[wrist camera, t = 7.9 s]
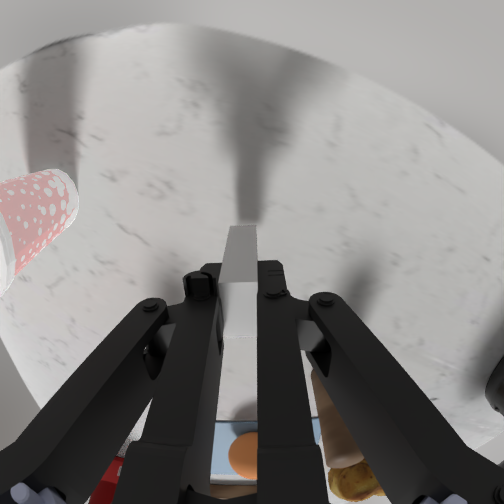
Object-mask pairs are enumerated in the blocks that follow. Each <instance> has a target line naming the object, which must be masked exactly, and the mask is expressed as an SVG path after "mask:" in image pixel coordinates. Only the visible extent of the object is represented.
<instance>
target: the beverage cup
mask: <svg viewBox="0 0 504 504" xmlns="http://www.w3.org/2000/svg"><path fill="white" fill-rule="evenodd" d="M78 209H79V197H78V192H77V189H76V187H75V184H74V182H73V181H72V180H71V178H70V177H69V176H68V175H67V174H66V173H64V172H62V171H60V170H59V169H47V170H43V171H39V172H35V173H31V174H27V175H23V176H20V177H16V178H12V179H9V180H5V181H2V182H0V297H1V296H2V295H3V294H4V292H5V291H6V290H8V288H9V286H10V285H11V283H12V281H13V279H14V276H15V275H16V274H17V273H18V272H19V271H20V270H21V269H22V268H23V267H25V266H26V265H27V264H28V263H29V262H30V261H31V260H32V259H33V258H34V257H35V256H36V255H37V254H38V253H39V252H40V251H41V250H42V249H44V248H45V247H46V246H47V245H48V244H49V243H50V242H51V241H52V240H54V239H55V238H56V237H57V236H58V235H59V234H60V233H62V232H63V231H64V230H65V229H66V228H67V227H69V226H70V225H71V223H72V222H73V221H74V220H75V218H76V216H77V212H78Z"/></svg>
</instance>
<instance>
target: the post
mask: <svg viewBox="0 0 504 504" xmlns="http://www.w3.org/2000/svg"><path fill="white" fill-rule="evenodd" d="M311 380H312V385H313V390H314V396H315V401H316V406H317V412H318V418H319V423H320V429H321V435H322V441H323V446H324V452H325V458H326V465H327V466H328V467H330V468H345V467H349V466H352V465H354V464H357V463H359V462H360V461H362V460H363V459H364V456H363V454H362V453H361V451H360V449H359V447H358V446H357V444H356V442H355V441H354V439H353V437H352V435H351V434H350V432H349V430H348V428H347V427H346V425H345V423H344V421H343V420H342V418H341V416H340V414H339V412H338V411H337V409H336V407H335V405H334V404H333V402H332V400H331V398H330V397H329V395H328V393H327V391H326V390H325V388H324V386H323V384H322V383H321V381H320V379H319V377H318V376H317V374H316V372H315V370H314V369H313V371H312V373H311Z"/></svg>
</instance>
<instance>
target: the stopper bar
mask: <svg viewBox="0 0 504 504" xmlns="http://www.w3.org/2000/svg"><path fill="white" fill-rule="evenodd" d="M253 493H257V485H212V484H210V494H211V497H215V498H218V499H229V498H234V497H239V496H244V495H249V494H253Z"/></svg>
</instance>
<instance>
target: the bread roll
mask: <svg viewBox="0 0 504 504" xmlns="http://www.w3.org/2000/svg"><path fill="white" fill-rule="evenodd" d="M328 482H329V487H330V490H331V491H332V492H333V493H334V494H335V495H336V496H337V497H339V498H341V499H344V500H347V501H351V502H352V501H354V502H358V501H363V500H365V499H368V498H370V497H371V496H372V495H377V496H386V495H385V493H384V491H383V489H382V488H381V486H380V484H379V482H378V481H377V479H376V477H375V475H374V474H373V472H372V470H371V468H370V467H369V465H368V463H367V461H366V460H365V458H364V459H363V460H362V461H360V462H359V463H357V464H354V465H352V466H349V467H345V468H331V469H330V471H329V472H328Z"/></svg>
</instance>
